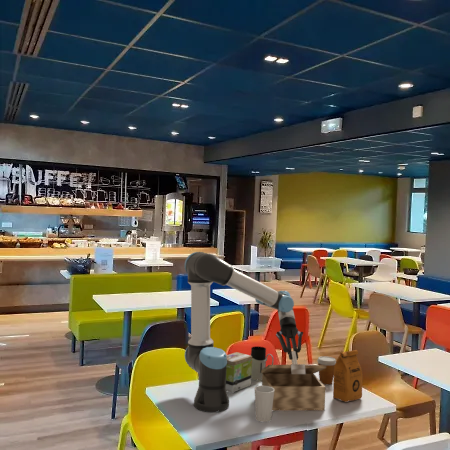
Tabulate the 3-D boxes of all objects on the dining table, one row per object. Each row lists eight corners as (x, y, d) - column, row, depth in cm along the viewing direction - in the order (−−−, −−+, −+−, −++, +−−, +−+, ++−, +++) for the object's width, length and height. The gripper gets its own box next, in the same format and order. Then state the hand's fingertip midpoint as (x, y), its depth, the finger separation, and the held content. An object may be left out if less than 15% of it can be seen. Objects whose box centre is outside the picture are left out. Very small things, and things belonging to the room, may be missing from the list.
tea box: (233, 393, 216) (234, 361, 216) (216, 388, 222) (217, 357, 222) (251, 385, 228) (252, 355, 228) (234, 380, 234) (236, 351, 234)
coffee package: (365, 400, 214) (367, 352, 214) (345, 405, 208) (347, 355, 207) (349, 393, 222) (351, 346, 222) (329, 397, 216) (331, 349, 216)
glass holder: (256, 373, 246) (257, 345, 246) (277, 380, 236) (279, 351, 236) (245, 377, 240) (246, 347, 240) (266, 384, 230) (267, 354, 230)
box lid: (269, 374, 198) (269, 364, 199) (261, 379, 215) (261, 370, 216) (327, 374, 200) (326, 364, 202) (314, 379, 217) (314, 370, 219)
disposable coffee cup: (313, 379, 240) (313, 356, 240) (329, 378, 243) (330, 355, 242) (322, 386, 231) (323, 361, 231) (339, 385, 233) (340, 360, 233)
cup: (257, 423, 185) (258, 393, 185) (250, 415, 192) (251, 386, 192) (276, 421, 187) (277, 391, 187) (268, 413, 195) (270, 385, 195)
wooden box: (269, 410, 198) (270, 386, 198) (261, 394, 216) (262, 373, 216) (324, 410, 200) (325, 387, 200) (312, 394, 218) (313, 373, 218)
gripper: (299, 324, 229) (307, 369, 212) (272, 324, 227) (279, 370, 211) (302, 316, 223) (311, 361, 207) (275, 315, 222) (282, 361, 205)
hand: (295, 365), depth 209 cm, fingers closed
